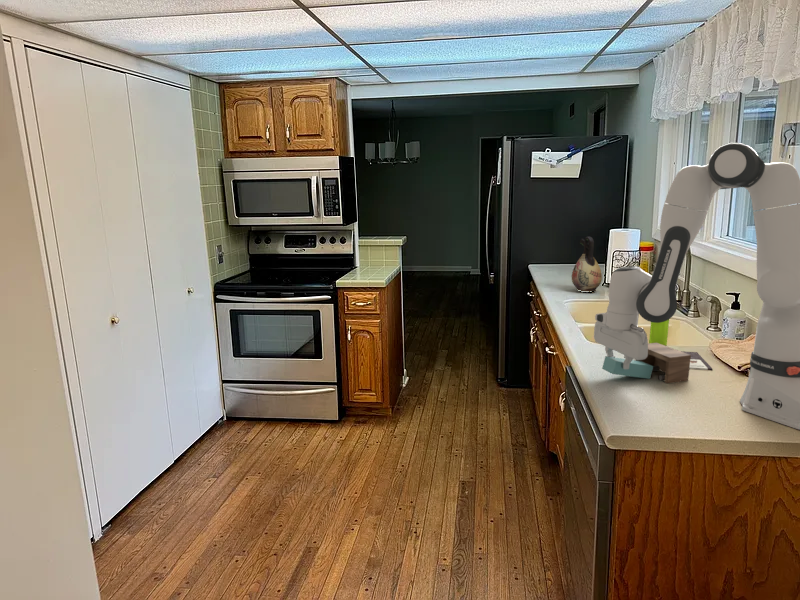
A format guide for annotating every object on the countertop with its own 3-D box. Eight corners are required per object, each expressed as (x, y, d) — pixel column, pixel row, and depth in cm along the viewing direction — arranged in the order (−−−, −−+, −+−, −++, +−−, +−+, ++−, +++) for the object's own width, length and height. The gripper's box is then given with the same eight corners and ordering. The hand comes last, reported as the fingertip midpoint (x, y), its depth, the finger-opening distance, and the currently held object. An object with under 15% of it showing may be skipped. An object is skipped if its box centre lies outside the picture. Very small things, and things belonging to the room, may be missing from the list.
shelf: (688, 380, 172) (690, 355, 170) (667, 383, 170) (669, 357, 168) (654, 366, 185) (656, 342, 183) (634, 368, 183) (636, 344, 181)
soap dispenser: (667, 349, 203) (673, 294, 199) (647, 346, 207) (652, 292, 203) (671, 345, 208) (676, 291, 203) (650, 342, 211) (655, 289, 207)
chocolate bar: (697, 352, 198) (712, 368, 181) (696, 354, 198) (712, 371, 181) (669, 350, 200) (681, 366, 183) (668, 353, 200) (681, 369, 183)
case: (638, 373, 178) (641, 361, 178) (649, 378, 174) (653, 366, 173) (602, 368, 173) (605, 356, 173) (612, 374, 169) (616, 361, 168)
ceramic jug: (566, 289, 313) (569, 234, 307) (594, 288, 314) (597, 234, 308) (577, 295, 297) (581, 237, 291) (606, 294, 298) (611, 237, 291)
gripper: (656, 328, 160) (650, 375, 163) (609, 312, 179) (605, 354, 182) (637, 330, 158) (632, 377, 161) (591, 313, 177) (588, 355, 180)
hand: (617, 365), depth 172 cm, fingers closed on case, 5 cm apart
